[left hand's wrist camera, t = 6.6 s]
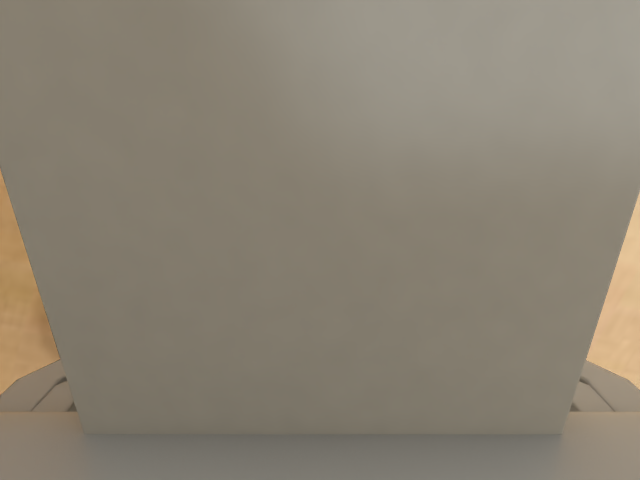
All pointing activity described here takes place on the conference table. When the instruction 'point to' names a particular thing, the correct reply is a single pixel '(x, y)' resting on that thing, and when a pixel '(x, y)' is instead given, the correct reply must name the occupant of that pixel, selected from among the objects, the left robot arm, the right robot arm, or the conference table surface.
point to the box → (321, 206)
